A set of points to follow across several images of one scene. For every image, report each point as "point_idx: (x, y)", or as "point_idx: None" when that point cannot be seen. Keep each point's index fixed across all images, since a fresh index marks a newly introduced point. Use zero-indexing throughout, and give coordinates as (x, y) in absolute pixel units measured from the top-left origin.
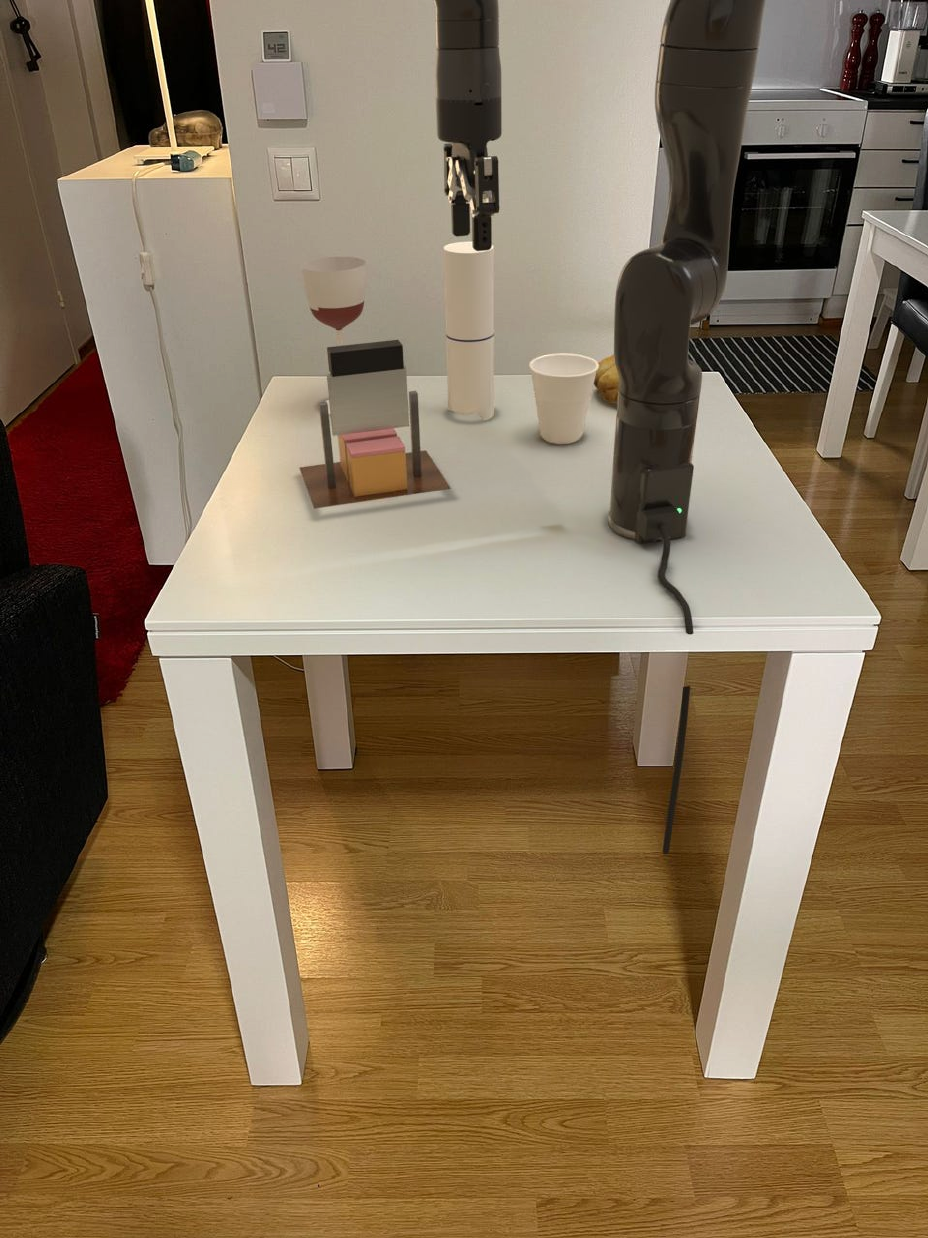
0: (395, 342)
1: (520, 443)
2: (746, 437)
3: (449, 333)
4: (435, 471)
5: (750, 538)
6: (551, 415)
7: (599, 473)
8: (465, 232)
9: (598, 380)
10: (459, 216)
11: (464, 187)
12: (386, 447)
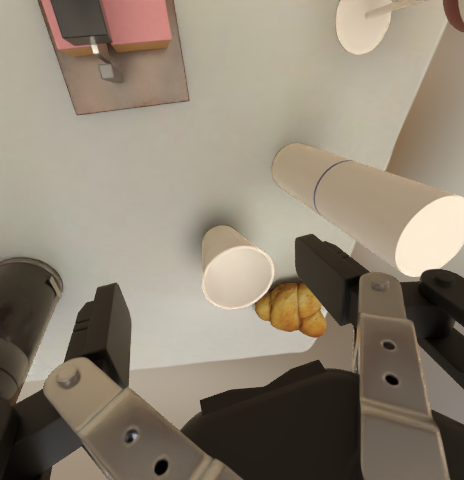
0: (84, 22)
1: (213, 205)
2: (193, 361)
3: (340, 165)
4: (126, 102)
5: None
6: (207, 244)
7: (136, 262)
8: (298, 266)
9: (295, 287)
10: (322, 277)
11: (118, 442)
12: (52, 15)
